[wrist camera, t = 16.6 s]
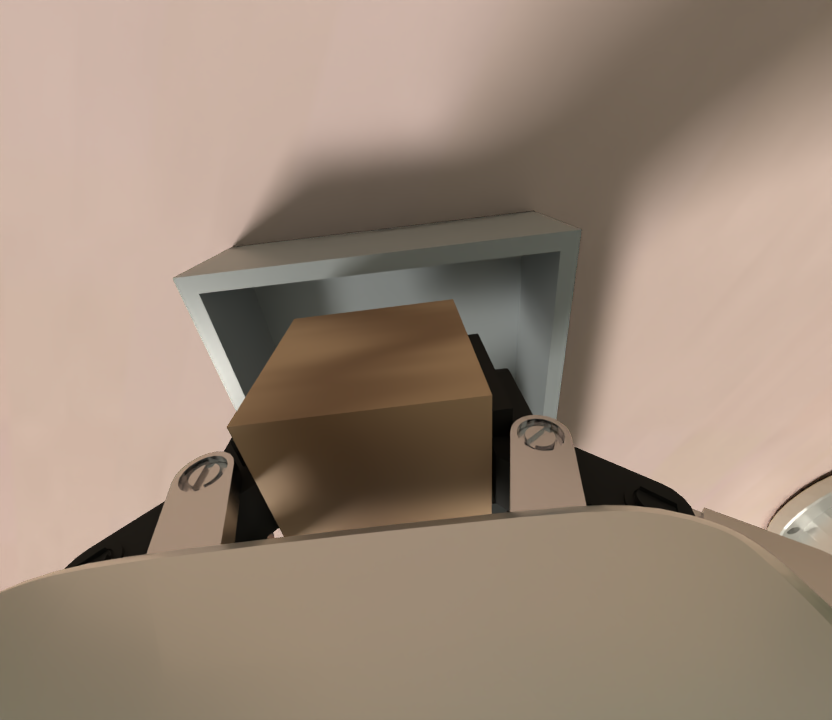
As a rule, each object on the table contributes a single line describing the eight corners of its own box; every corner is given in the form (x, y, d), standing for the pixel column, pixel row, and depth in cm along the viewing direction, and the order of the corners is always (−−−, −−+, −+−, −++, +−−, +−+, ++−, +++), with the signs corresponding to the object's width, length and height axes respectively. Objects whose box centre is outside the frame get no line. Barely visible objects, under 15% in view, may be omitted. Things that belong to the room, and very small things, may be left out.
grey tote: (533, 210, 15) (581, 229, 11) (516, 481, 23) (539, 545, 20) (231, 247, 15) (172, 278, 11) (325, 501, 24) (311, 568, 20)
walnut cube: (452, 299, 11) (491, 395, 6) (460, 421, 13) (491, 548, 9) (294, 318, 11) (226, 426, 6) (332, 436, 13) (301, 570, 9)
